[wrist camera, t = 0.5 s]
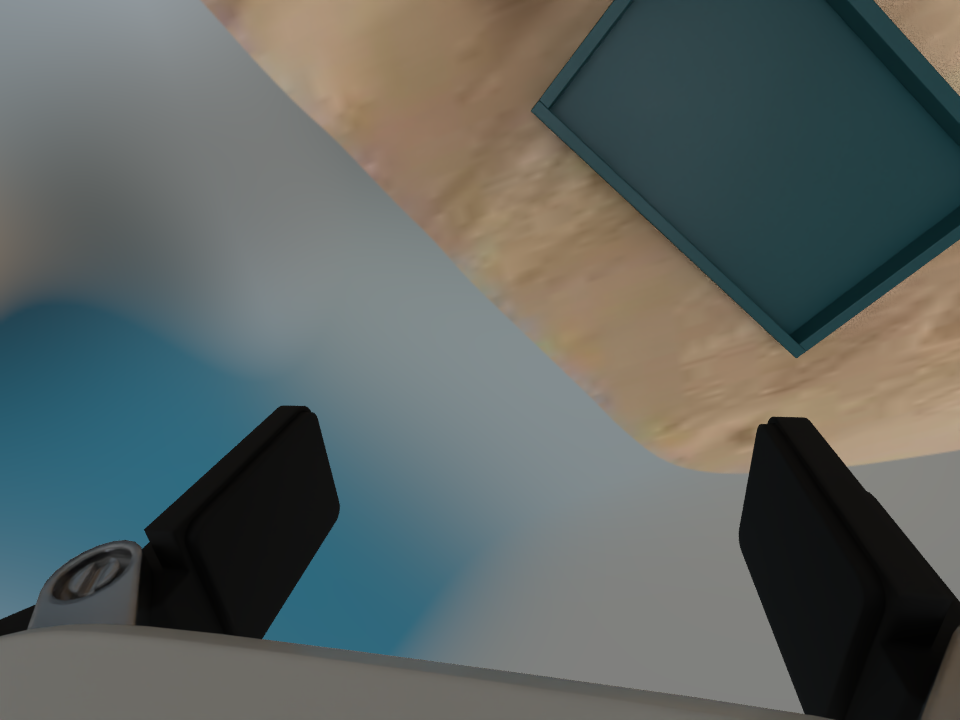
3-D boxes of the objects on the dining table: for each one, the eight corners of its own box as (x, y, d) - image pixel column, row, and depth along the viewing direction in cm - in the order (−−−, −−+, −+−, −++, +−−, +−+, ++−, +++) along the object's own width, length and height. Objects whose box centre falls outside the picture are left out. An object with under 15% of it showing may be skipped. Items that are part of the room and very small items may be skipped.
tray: (720, -135, 27) (732, -158, 25) (1005, 179, 30) (1037, 182, 28) (533, 112, 34) (530, 110, 31) (783, 346, 37) (796, 358, 35)
